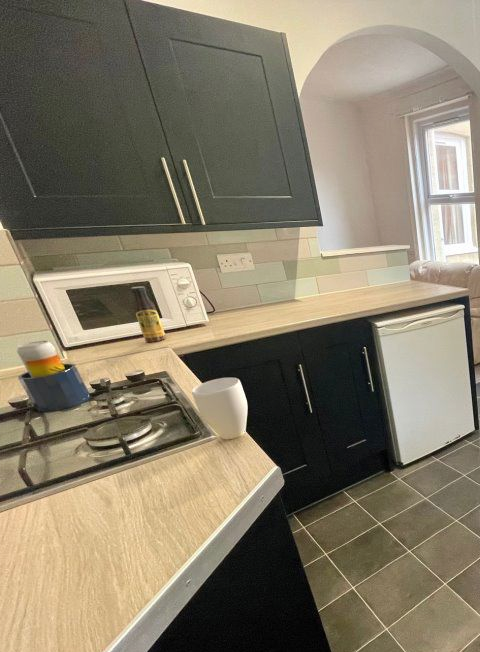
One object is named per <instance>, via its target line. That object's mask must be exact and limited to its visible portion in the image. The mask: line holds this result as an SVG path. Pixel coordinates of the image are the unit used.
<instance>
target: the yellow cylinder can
mask: <svg viewBox="0 0 480 652" xmlns="http://www.w3.org/2000/svg"><path fill="white" fill-rule="evenodd" d="M16 348H17V350H16V352H17V355H18V356H19V358H20V360H21V362H22V363H23V365H24V367H25V369H26V372H29V374H30V376H31V378H34V377H41V376H46V375H51V374H55V373H58V372H62V371H64V370H66V369H65V367H64V366H63V364H64V363H63V362H62V360H61V358H60V356H59V354H58V352H57V350H56V348H55V346H54V345H53V343H51V342H50V341H49V340H36V341H31V342H27V343H22V344H20V345H17V347H16Z"/></svg>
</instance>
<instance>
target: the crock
mask: <svg viewBox="0 0 480 652" xmlns="http://www.w3.org/2000/svg"><path fill="white" fill-rule="evenodd" d="M62 364H63V366H64V367H65V369H66V370H64V371H62V372H58V373H55V374H51V375H46V376H41V377H34V378H31V376H30V374H29V372H28V371H26V372H24V373H22V374H20V375H18V376H17V378H18V381H19V382H20V384H21V386H22V388H23V390H24V391H25V393H26V395H27V396H28V398H29V401H30V402H31V404H32V405H33V407H34V409H36V408H38V409H39V410H40V411H41V412H40V413H51V412H58V411H62V410H66V409H71V408H73V407H76V406H79V405H82V404H83V403H85V402H87V401H89V400H90V399H91V398H92V396H91V394H90V392H89V390H88V388H87V386H86V384H85V382H84V380H83V377H82V376H81V373H80V371H79V370H78V368H77V366H76V364H75V363H62Z"/></svg>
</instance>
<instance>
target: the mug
mask: <svg viewBox="0 0 480 652" xmlns="http://www.w3.org/2000/svg"><path fill="white" fill-rule="evenodd" d="M191 395H192V397H193V400H194V403H195V405H196V407H197V411H198V412H199V415H200V417H201V418H202V419H203V421H204V422H205V423H206V424H207V425H208V426H209V427H210V428H211V429H212V430H213V431H214V432H215V433H216V434H217V435H218V436H219V437H220V438H221V439H222V440H233V439H236V438H239V437H241V436H243V435H245V433H246V429H247V421H248V420H247V419H248V411H249V410H248V401H247V398H246V394H245V391H244V388H243V385H242V382H241V380H240V379H239V378H237V377H221V378H216V379H211V380H208V381H204V382H203V383H200V384H198V385H196V386H195V387H194V388H192V389H191ZM243 430H244V431H245V432H244V431H243Z"/></svg>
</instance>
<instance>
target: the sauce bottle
mask: <svg viewBox="0 0 480 652" xmlns="http://www.w3.org/2000/svg"><path fill="white" fill-rule="evenodd" d="M130 291H131V293H132V295H133V298H134V302H133V310H134V312H135V317H136V319H137V322H138V325H139V327H140V330H141V333H142V336H143V337H144V340H145V342H146V343H155V342H160V340H161V341H164V340H165V339H166V333H165V331H164V327H163V324H162V321H161V318H160V316H159V313H158V310H157V308H156V305H155V303H154V302H153V301H152V300H150V298H149V296H148V293H147V288H146V287H145V286H132V287H130ZM163 339H164V340H163Z"/></svg>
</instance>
